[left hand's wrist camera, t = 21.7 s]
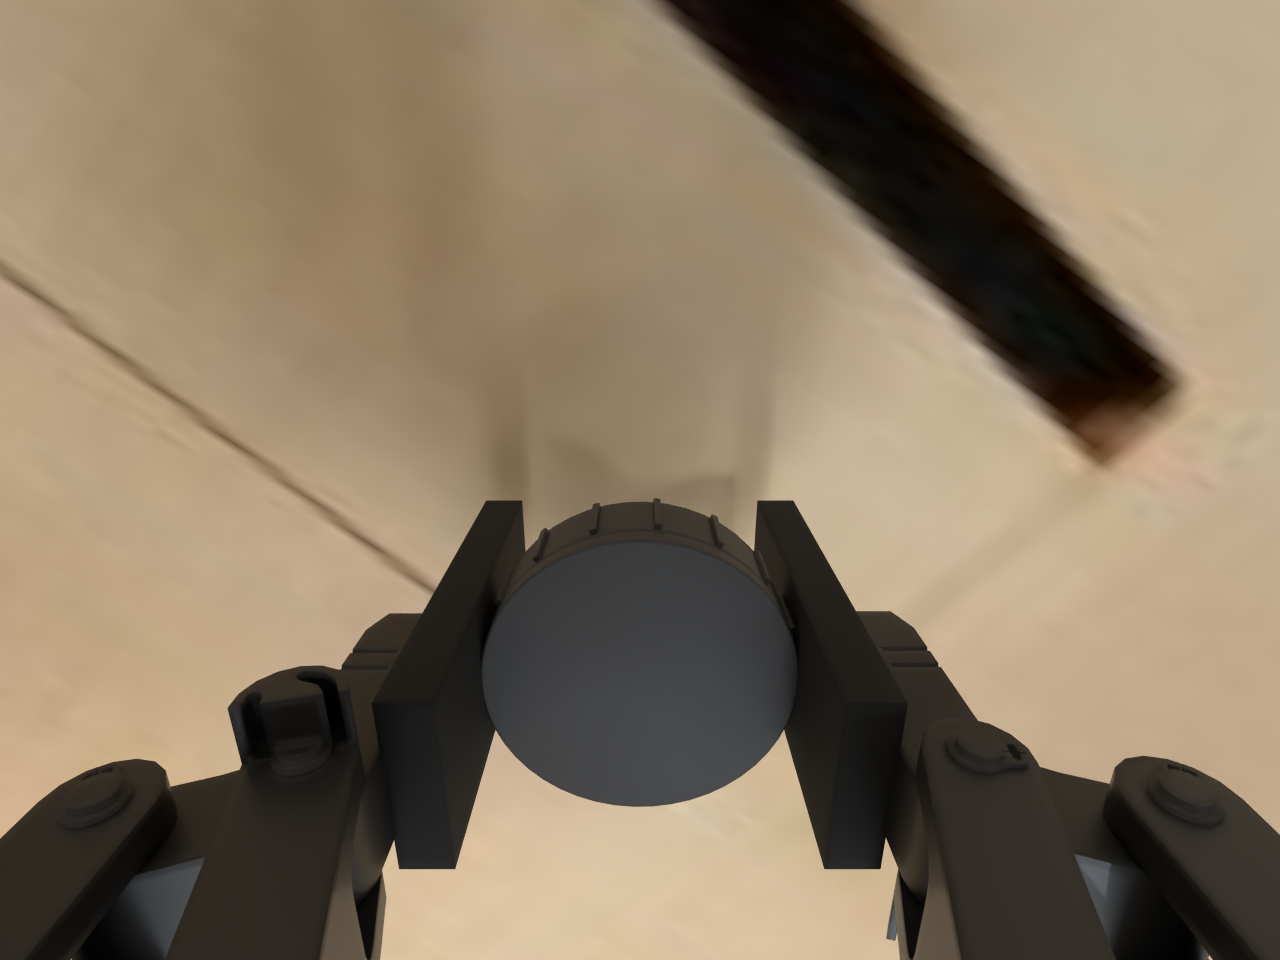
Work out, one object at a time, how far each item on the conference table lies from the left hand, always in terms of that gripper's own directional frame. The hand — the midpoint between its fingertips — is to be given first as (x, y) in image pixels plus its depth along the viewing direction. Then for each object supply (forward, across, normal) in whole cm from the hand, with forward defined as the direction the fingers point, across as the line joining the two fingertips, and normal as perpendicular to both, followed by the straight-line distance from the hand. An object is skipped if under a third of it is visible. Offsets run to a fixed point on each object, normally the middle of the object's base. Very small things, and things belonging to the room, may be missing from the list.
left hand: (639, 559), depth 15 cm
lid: (-4, 0, 0) cm, 4 cm away
